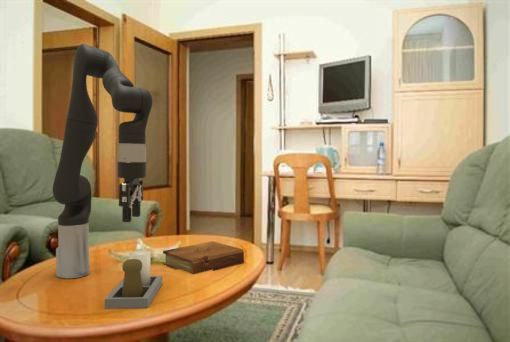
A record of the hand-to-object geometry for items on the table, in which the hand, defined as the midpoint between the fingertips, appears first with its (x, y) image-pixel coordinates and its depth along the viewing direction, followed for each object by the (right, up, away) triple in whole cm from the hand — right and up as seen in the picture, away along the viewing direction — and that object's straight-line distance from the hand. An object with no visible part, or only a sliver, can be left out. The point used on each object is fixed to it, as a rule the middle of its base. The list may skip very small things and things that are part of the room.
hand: (131, 219), depth 109 cm
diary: (+15, -22, +37) cm, 45 cm away
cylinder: (0, -22, +7) cm, 23 cm away
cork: (+1, -22, -1) cm, 22 cm away
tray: (0, -22, +2) cm, 22 cm away
